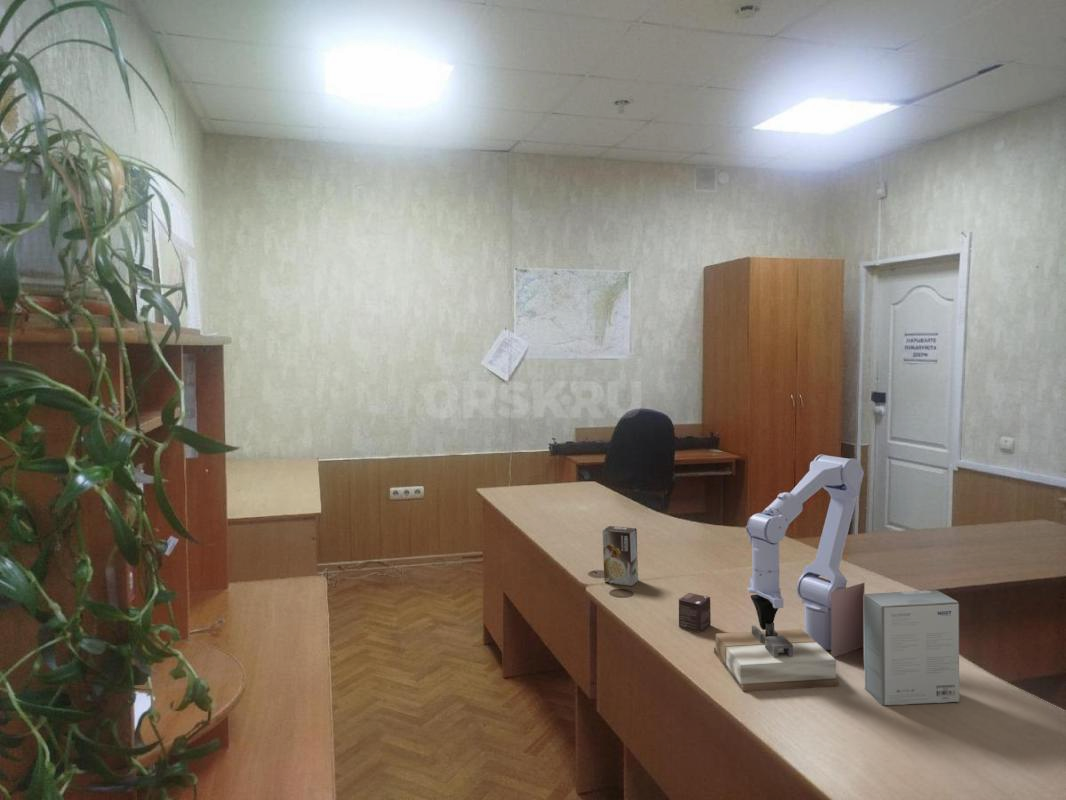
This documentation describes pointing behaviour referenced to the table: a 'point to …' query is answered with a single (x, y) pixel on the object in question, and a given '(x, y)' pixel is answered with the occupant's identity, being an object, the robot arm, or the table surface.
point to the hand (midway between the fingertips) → (766, 628)
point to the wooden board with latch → (775, 660)
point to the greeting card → (847, 619)
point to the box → (694, 612)
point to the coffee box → (620, 555)
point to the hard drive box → (911, 647)
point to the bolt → (771, 632)
